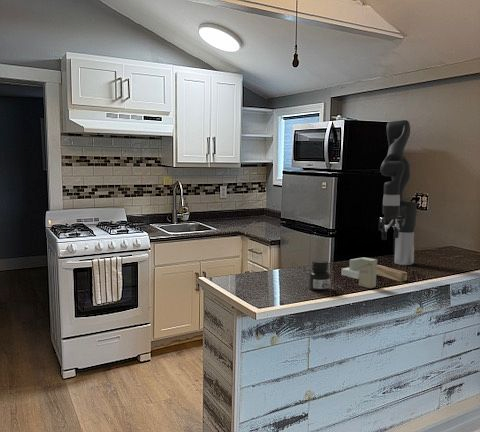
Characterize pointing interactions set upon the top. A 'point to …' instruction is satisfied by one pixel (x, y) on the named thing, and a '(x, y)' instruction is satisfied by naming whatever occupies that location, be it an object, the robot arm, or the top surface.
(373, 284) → the skincare box
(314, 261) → the ink bottle
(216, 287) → the top surface
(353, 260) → the fulcrum
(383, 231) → the robot arm
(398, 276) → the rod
